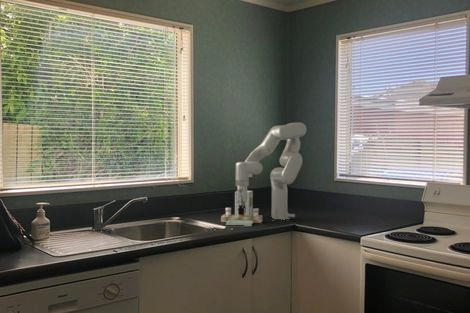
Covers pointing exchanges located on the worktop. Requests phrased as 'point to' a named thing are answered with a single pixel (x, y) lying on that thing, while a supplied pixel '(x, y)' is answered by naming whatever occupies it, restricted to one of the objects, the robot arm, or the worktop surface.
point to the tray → (239, 222)
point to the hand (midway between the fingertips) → (241, 213)
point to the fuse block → (242, 218)
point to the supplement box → (248, 204)
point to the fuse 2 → (255, 212)
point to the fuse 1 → (228, 211)
